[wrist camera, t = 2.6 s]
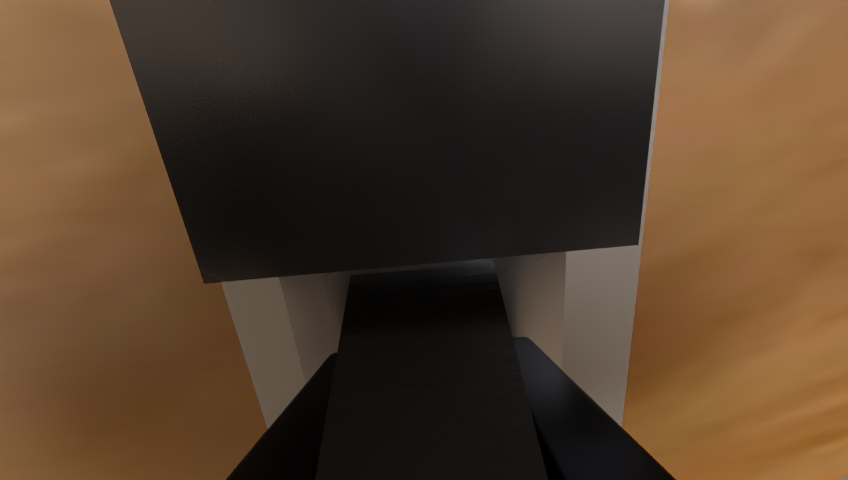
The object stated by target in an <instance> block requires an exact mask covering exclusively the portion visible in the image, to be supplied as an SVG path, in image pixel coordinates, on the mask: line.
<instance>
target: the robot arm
mask: <svg viewBox="0 0 848 480" xmlns="http://www.w3.org/2000/svg"><path fill="white" fill-rule="evenodd" d="M513 341H514V345H515V349H516V353H517V357H518V361H519V365H520V369H521V373H522V377H523V381H524V385H525V389H526V393H527V397H528V401H529V405H530V409H531V413H532V417H533V421H534V425H535V429H536V433H537V437H538V441H539V445H540V449H541V453H542V457H543V461H544V465H545V469H546V473H547V477H548V480H676V479H675V478H674V477H673V476H672V475H671V474H670V473H669V472H667V471H666V470H665V469H664V468H663V467H662V466H661V465H660V464H659V463H658V462H657V461H656V460H655V459H654V458H653V457H652V456H651V455H650V454H649V453H648V452H647V451H646V450H645V449H644V448H643V447H642V446H641V445H639V444H638V443H637V442H636V441H635V440H634V439H633V438H632V437H631V436H630V435H629V434H628V433H627V432H626V431H625V430H624V429H623V428H622V427H621V426H620V425H619V424H618V423H617V422H616V421H615V420H614V419H613V418H611V417H610V416H609V415H608V414H607V413H606V412H605V411H604V410H603V409H602V408H601V407H600V406H599V405H598V404H597V403H596V402H595V401H594V400H593V399H592V398H591V397H590V396H589V395H588V394H587V393H586V392H584V391H583V390H582V389H581V388H580V387H579V386H578V385H577V384H576V383H575V382H574V381H573V380H572V379H571V378H570V377H569V376H568V375H567V374H566V373H565V372H564V371H563V370H562V369H561V368H560V367H559V366H558V365H556V364H555V363H554V362H553V361H552V360H551V359H550V358H549V357H548V356H547V355H546V354H545V353H544V352H543V351H542V350H541V349H540V348H539V347H538V346H537V345H536V344H535V343H534V342H533V341H532V340H531V339H529V338H527V337H516V338H513ZM336 357H337V353H332V354H331V355H330V356H329V357H328V358H327V359H326V360H325V361H324V362H323V364H322V365H321V366H320V367H319V368H318V370H317V371H316V372H315V373H314V374H313V376H312V377H311V378H310V379H309V380H308V382H307V383H306V384H305V385H304V386H303V388H302V389H301V390H300V391H299V392H298V394H297V395H296V396H295V397H294V398H293V400H292V401H291V402H290V403H289V404H288V406H287V407H286V408H285V409H284V410H283V412H282V413H281V414H280V415H279V416H278V418H277V419H276V420H275V421H274V422H273V424H272V425H271V426H270V427H269V428H268V430H267V431H266V432H265V433H264V434H263V436H262V437H261V438H260V439H259V440H258V442H257V443H256V444H255V445H254V446H253V448H252V449H251V450H250V451H249V452H248V454H247V455H246V456H245V457H244V458H243V460H242V461H241V462H240V463H239V464H238V466H237V467H236V468H235V469H234V470H233V472H232V473H231V474H230V475H229V476H228V478H227V479H226V480H315V477H316V471H317V465H318V460H319V454H320V448H321V442H322V437H323V431H324V425H325V420H326V414H327V408H328V402H329V397H330V391H331V385H332V379H333V374H334V368H335V362H336Z"/></svg>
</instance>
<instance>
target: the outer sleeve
mask: <svg viewBox="0 0 848 480" xmlns="http://www.w3.org/2000/svg"><path fill="white" fill-rule="evenodd" d="M110 3H111V6H112V9H113V12H114V15H115V18H116V21H117V24H118V27H119V30H120V33H121V36H122V39H123V42H124V45H125V48H126V51H127V54H128V57H129V60H130V63H131V66H132V69H133V72H134V75H135V78H136V81H137V84H138V87H139V90H140V93H141V96H142V99H143V102H144V105H145V108H146V111H147V114H148V117H149V120H150V123H151V126H152V129H153V132H154V135H155V138H156V141H157V144H158V147H159V150H160V153H161V155H162V158H163V161H164V164H165V167H166V170H167V173H168V176H169V179H170V182H171V185H172V188H173V191H174V194H175V197H176V200H177V203H178V206H179V209H180V212H181V215H182V218H183V221H184V224H185V227H186V230H187V233H188V236H189V239H190V242H191V245H192V248H193V251H194V254H195V257H196V260H197V263H198V266H199V269H200V272H201V275H202V278H203V281H204V284H206V283H217V282H228V281H240V280H251V279H262V278H273V277H285V276H296V275H307V274H318V273H330V272H341V271H352V270H364V269H375V268H386V267H397V266H409V265H420V264H431V263H443V262H454V261H465V260H476V259H488V258H499V257H510V256H521V255H533V254H544V253H555V252H567V251H578V250H589V249H600V248H612V247H623V246H634V245H639V236H640V226H641V217H642V208H643V198H644V189H645V180H646V171H647V161H648V152H649V143H650V133H651V124H652V115H653V105H654V96H655V87H656V78H657V68H658V59H659V50H660V40H661V31H662V22H663V13H664V3H665V0H110Z"/></svg>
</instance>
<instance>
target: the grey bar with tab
mask: <svg viewBox="0 0 848 480" xmlns="http://www.w3.org/2000/svg"><path fill="white" fill-rule="evenodd" d="M565 274H566V252H555V253H544V254H533V255H521V256H510V257H499V258H488V259H476V260H465V261H454V262H443V263H431V264H420V265H409V266H397V267H386V268H375V269H364V270H352V271H341V272H330V273H318V274H307V275H296V276H285V277H279V281H280V284H281V288H282V292H283V296H284V300H285V304H286V308H287V312H288V316H289V319H290V323H291V327H292V331H293V335H294V339H295V343H296V347H297V351H298V355H299V358H300V362H301V366H302V370H303V374H304V378H305V382H306V383H307V382H308V380H309V379H310V378H311V377H312V376H313V374H314V373H315V372H316V371H317V370H318V368H319V367H320V366H321V365H322V364H323V362H324V361H325V360H326V359H327V358H328V357H329V356H330V355H331V354H332V353H337V357H336V362H335V368H334V374H333V379H332V385H331V391H330V397H329V402H328V408H327V414H326V420H325V425H324V431H323V437H322V442H321V448H320V454H319V460H318V465H317V471H316V477H315V480H548V477H547V473H546V469H545V465H544V461H543V457H542V453H541V449H540V445H539V441H538V437H537V433H536V429H535V425H534V421H533V417H532V413H531V409H530V405H529V401H528V397H527V393H526V389H525V385H524V381H523V377H522V373H521V369H520V365H519V361H518V357H517V353H516V349H515V345H514V341H513V338H516V337H527V338H529V339H531V340H532V341H533V342H534V343H535V344H536V345H537V346H538V347H539V348H540V349H541V350H542V351H543V352H544V353H545V354H546V355H547V356H548V357H549V358H550V359H551V360H552V361H553V362H554V363H555V364H556V365H558V366H559V367H560V368H561V369H562V356H563V329H564V301H565Z"/></svg>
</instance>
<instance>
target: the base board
mask: <svg viewBox="0 0 848 480" xmlns="http://www.w3.org/2000/svg"><path fill="white" fill-rule="evenodd" d="M668 9H669V0H665V3H664V13H663V22H662V31H661V40H660V50H659V59H658V68H657V78H656V87H655V96H654V105H653V115H652V124H651V133H650V143H649V152H648V161H647V171H646V180H645V189H644V198H643V208H642V217H641V226H640V236H639V245H634V246H623V247H612V248H600V249H589V250H578V251H567V252H566V274H565V301H564V329H563V356H562V370H563V371H564V372H565V373H566V374H567V375H568V376H569V377H570V378H571V379H572V380H573V381H574V382H575V383H576V384H577V385H578V386H579V387H580V388H581V389H582V390H583V391H584V392H586V393H587V394H588V395H589V396H590V397H591V398H592V399H593V400H594V401H595V402H596V403H597V404H598V405H599V406H600V407H601V408H602V409H603V410H604V411H605V412H606V413H607V414H608V415H609V416H610V417H611V418H613V419H614V420H615V421H616V422H617V423H618V424H619V425H620V426H621V427H622V422H623V413H624V404H625V395H626V386H627V377H628V368H629V359H630V350H631V341H632V332H633V323H634V314H635V305H636V296H637V287H638V278H639V269H640V260H641V251H642V242H643V233H644V224H645V215H646V206H647V197H648V188H649V179H650V170H651V161H652V152H653V143H654V134H655V126H656V117H657V108H658V99H659V90H660V81H661V72H662V63H663V54H664V45H665V36H666V27H667V18H668ZM221 285H222V288H223V291H224V294H225V297H226V300H227V304H228V307H229V310H230V313H231V316H232V319H233V323H234V326H235V329H236V332H237V335H238V338H239V341H240V345H241V348H242V351H243V354H244V357H245V360H246V363H247V367H248V370H249V373H250V376H251V379H252V382H253V386H254V389H255V392H256V395H257V398H258V401H259V404H260V408H261V411H262V414H263V417H264V420H265V423H266V426H267V430H268V428H269V427H270V426H271V425H272V424H273V422H274V421H275V420H276V419H277V418H278V416H279V415H280V414H281V413H282V412H283V410H284V409H285V408H286V407H287V406H288V404H289V403H290V402H291V401H292V400H293V398H294V397H295V396H296V395H297V394H298V392H299V391H300V390H301V389H302V388H303V386H304V385H305V384H306V382H305V378H304V374H303V370H302V366H301V362H300V358H299V355H298V351H297V347H296V343H295V339H294V335H293V331H292V327H291V323H290V319H289V316H288V312H287V308H286V304H285V300H284V296H283V292H282V288H281V284H280V281H279V277H273V278H262V279H251V280H240V281H228V282H221Z"/></svg>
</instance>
